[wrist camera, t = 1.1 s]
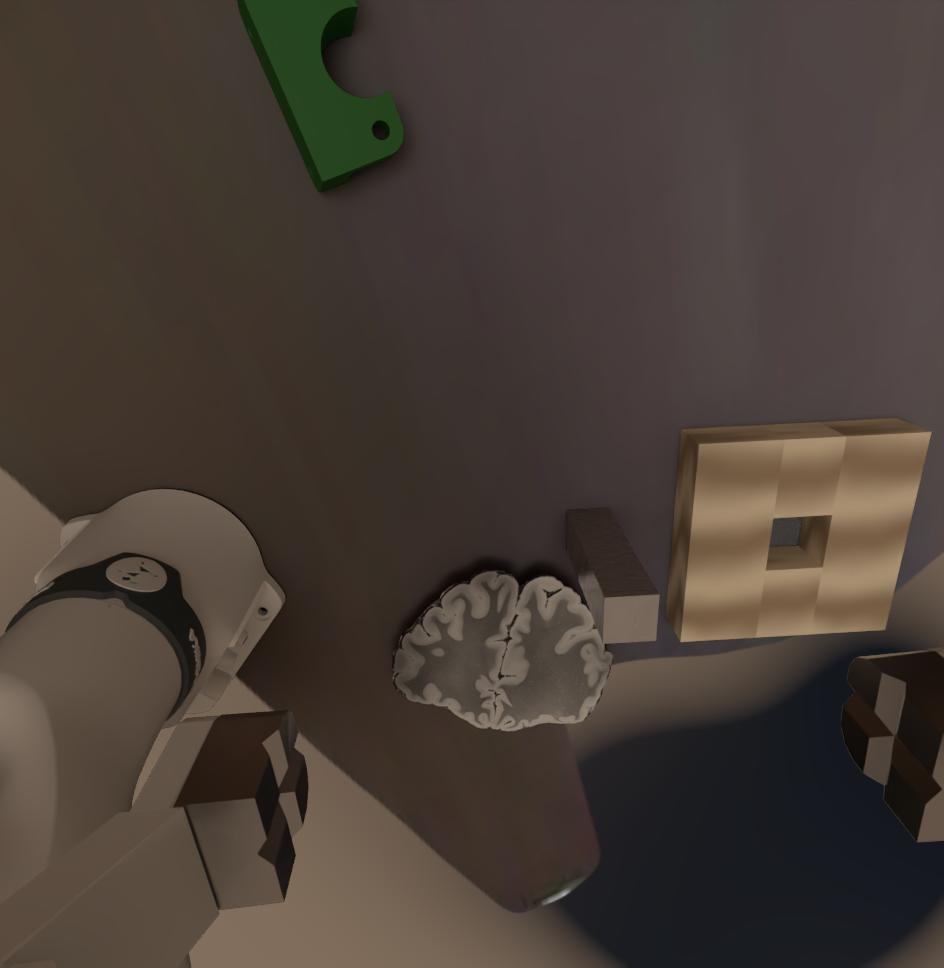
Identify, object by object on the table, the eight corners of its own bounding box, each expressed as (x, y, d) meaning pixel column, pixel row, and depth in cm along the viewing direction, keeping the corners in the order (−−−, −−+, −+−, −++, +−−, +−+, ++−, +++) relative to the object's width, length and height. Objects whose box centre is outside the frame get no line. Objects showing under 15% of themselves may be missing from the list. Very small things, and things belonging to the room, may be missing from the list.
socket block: (857, 604, 59) (885, 629, 55) (665, 616, 59) (680, 641, 55) (897, 417, 53) (931, 431, 49) (681, 429, 52) (699, 444, 48)
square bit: (606, 545, 56) (655, 640, 43) (565, 547, 56) (602, 643, 43) (608, 508, 55) (659, 594, 42) (566, 510, 54) (604, 597, 41)
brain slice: (626, 569, 57) (635, 586, 54) (583, 717, 63) (589, 740, 60) (409, 540, 55) (407, 556, 52) (386, 696, 61) (383, 718, 59)
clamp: (378, 145, 48) (418, 175, 41) (304, 175, 47) (333, 210, 40) (314, -59, 39) (352, -62, 33) (223, -27, 39) (243, -24, 32)
